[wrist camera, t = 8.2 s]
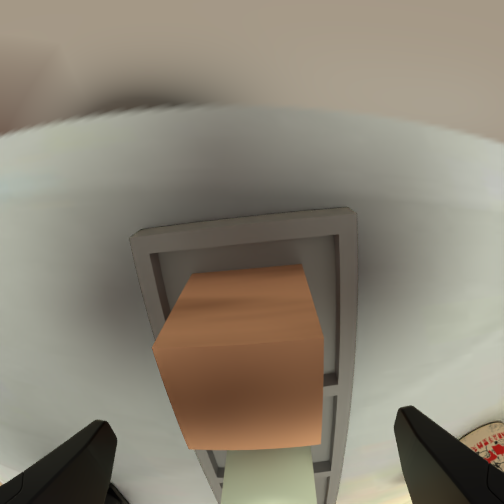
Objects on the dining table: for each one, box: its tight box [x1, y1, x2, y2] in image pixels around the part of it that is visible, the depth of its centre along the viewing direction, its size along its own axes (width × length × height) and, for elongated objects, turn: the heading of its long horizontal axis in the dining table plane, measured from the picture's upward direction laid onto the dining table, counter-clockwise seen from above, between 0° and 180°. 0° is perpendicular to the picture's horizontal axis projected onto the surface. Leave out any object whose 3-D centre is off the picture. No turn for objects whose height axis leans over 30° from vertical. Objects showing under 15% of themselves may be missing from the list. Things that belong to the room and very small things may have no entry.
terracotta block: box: [152, 264, 324, 450], centre depth 12 cm, size 5×5×6 cm
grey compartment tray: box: [129, 207, 358, 504], centre depth 15 cm, size 27×10×6 cm, turn 7°
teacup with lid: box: [459, 423, 504, 472], centre depth 15 cm, size 12×9×12 cm
